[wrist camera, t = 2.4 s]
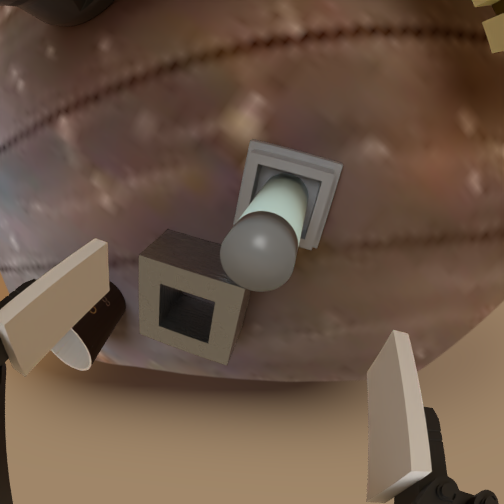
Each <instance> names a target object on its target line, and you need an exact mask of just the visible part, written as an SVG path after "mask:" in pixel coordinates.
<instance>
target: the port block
mask: <svg viewBox="0 0 504 504" xmlns="http://www.w3.org/2000/svg"><path fill="white" fill-rule="evenodd" d="M220 250H221V245H220V244H216V243H213V242H209V241H206V240H203V239H199V238H196V237H192V236H189V235H186V234H182V233H179V232H175V231H172V230H166V231H165V232H164V233H163V234H162V235H161V236H160V237H158V238H157V239H156V240H155V241H154V242H153V243H152V244H150V245H149V246H148V247H147V248H146V249H145V250H144V251H143V252H142V253H140V254H139V326H140V334H142V335H144V336H147V337H149V338H152V339H154V340H157V341H159V342H162V343H165V344H167V345H170V346H173V347H175V348H178V349H181V350H183V351H186V352H189V353H192V354H194V355H197V356H200V357H203V358H206V359H209V360H212V361H215V362H218V363H221V364H224V365H227V364H228V362H229V359H230V357H231V354H232V352H233V349H234V347H235V344H236V342H237V339H238V337H239V334H240V332H241V329H242V325H243V321H244V317H245V313H246V309H247V305H248V301H249V297H250V293H251V290H248V289H245V288H243V287H241V286H239V285H238V284H236V283H235V282H234V281H233V280H232V279H231V278H230V277H229V276H228V275H227V274H226V272H225V270H224V268H223V266H222V263H221V259H220ZM182 291H184V292H187V293H190V294H193V295H196V296H199V297H202V298H205V299H208V300H211V301H214V302H215V305H213V304H209V303H206V302H203V301H200V300H197V299H194V298H191V297H188V296H185V295H182V294H181V293H182Z"/></svg>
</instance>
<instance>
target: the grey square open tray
mask: <svg viewBox="0 0 504 504" xmlns="http://www.w3.org/2000/svg"><path fill="white" fill-rule="evenodd" d="M342 166H343V164H342V163H340V162H337V161H334V160H331V159H327V158H324V157H320V156H317V155H313V154H310V153H306V152H302V151H299V150H295V149H291V148H287V147H284V146H280V145H276V144H272V143H268V142H263V141H259V140H255V139H252V140H250V144H249V149H248V154H247V158H246V163H245V168H244V173H243V178H242V183H241V188H240V193H239V198H238V203H237V208H236V213H235V218H234V223H233V225H235V224H236V222H237V221H238V220H239V218H240V217H241V216H242V214H243V213H244V211H245V210H246V209H247V207H248V206H249V205H250V203H251V202H252V201H253V199H254V198H255V197H256V195H257V194H258V193H259V191H260V190H261V189H262V188H263V186H264V185H265V184H266V182H267V181H268V180H269V179H270V178H271V177H273V176H275V175H277V174H281V173H288V174H292V175H295V176H297V177H298V178H300V179H301V180H302V181H303V182H304V184H305V185H306V187H307V190H308V203H307V208H306V213H305V218H304V223H303V228H302V232H301V237H300V242H299V247H301V248H304V249H308V250H312V247H314V248H317V247H318V244H319V241H320V238H321V235H322V232H323V228H324V225H325V222H326V219H327V216H328V213H329V210H330V206H331V203H332V200H333V197H334V193H335V190H336V187H337V183H338V180H339V177H340V173H341V170H342Z"/></svg>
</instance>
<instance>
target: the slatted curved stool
mask: <svg viewBox="0 0 504 504" xmlns="http://www.w3.org/2000/svg"><path fill="white" fill-rule="evenodd" d="M472 2H473V4H474V6H475V7H481V6H490V5H492V7H493V9H494V11H495V13H496V15H497V16H495V17H493V18H491V19H488V20H486V21H484V22H482V25H483V27H484V30H485V33H486V36H487V39H488V42H489V45H490V49H491V53H496V52H501V51H504V0H472Z"/></svg>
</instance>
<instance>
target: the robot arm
mask: <svg viewBox="0 0 504 504" xmlns="http://www.w3.org/2000/svg"><path fill="white" fill-rule="evenodd" d="M113 1H114V0H0V5H1V6H4V5H6V6H17V7H19V8H21V9H23V10H25V11H26V12H28V13H30V14H31V15H33V16H35V17H36V18H38V19H40V20H42V21H43V22H45V23H48V24H51V25H59V26H74V25H78V24H81V23H84V22H86V21H88V20H90V19H92V18H93V17H95V16H97V15H98V14H99V13H101V12H102V11H103V10H105V9H106V8H107V7H108V6H109V5H110V4H111V3H112V2H113ZM109 291H110V288H109V269H108V243H107V242H105V241H102V240H99V239H96V238H95V239H93V240H92V241H90V242H89V243H87V244H86V245H85V246H83V247H82V248H80V249H79V250H77V251H76V252H75V253H73V254H72V255H70V256H69V257H67V258H66V259H65V260H63V261H62V262H61V263H59V264H58V265H56V266H55V267H54V268H52V269H51V270H50V271H48V272H47V273H46V274H44V275H43V276H42V277H40V278H39V279H38V280H35V279H33V280H30V281H28V282H25V283H23V284H22V285H21V286H19V287H18V288H17V289H16V290H15V291H13V292H12V293H10V294H9V296H7V297H5V298H4V299H3V300H2V301H0V504H13V501H12V495H11V489H10V482H9V474H8V464H7V453H6V438H5V382H6V364H5V361H6V360H7V359H8V358H9V360H10V362H11V364H12V367H13V368H14V369H15V370H17V371H18V372H19V373H20V374H22V375H23V376H24V377H26V376H27V375H28V374H29V372H30V371H31V370H32V369H33V368H34V367H35V366H36V365H37V364H38V362H39V361H40V360H41V359H42V358H43V357H44V356H45V355H46V354H47V353H48V352H49V351H50V350H51V349H52V348H53V347H54V346H55V345H56V344H57V343H58V341H59V340H60V339H61V338H62V337H63V336H64V335H65V334H66V333H67V332H68V331H69V330H70V329H71V328H72V327H73V326H74V325H75V324H76V323H77V322H78V321H79V320H80V319H81V318H82V317H83V316H84V315H85V314H86V313H87V312H88V311H89V310H90V309H91V308H92V307H93V306H94V305H95V304H96V303H97V302H98V301H99V300H100V299H101V298H102V297H103V296H105V295H106V294H107V293H108V292H109ZM367 386H368V424H369V427H368V428H369V445H368V447H369V448H368V483H367V502H381V503H385V502H387V501H389V500H390V499H392V498H393V497H394V504H498V499H497V497H496V496H495V494H494V493H493V492H491V491H489V490H484V491H481V492H479V493H478V494H476V495H472V494H468V493H465V492H462V491H460V490H459V489H458V486H457V484H456V483H455V481H454V480H453V479H451V478H449V477H448V476H447V470H446V462H445V455H444V448H443V442H442V435H441V433H440V431H441V429H440V423H439V419H438V417H437V415H436V413H435V411H434V410H433V408H428V407H423V401H422V395H421V391H420V385H419V380H418V375H417V370H416V365H415V361H414V356H413V352H412V347H411V343H410V339H409V335H408V333H404V332H400V331H396V330H393V331H392V333H391V334H390V336H389V338H388V339H387V341H386V343H385V344H384V346H383V348H382V349H381V351H380V353H379V354H378V356H377V357H376V359H375V361H374V362H373V364H372V365H371V367H370V368H369V370H368V371H367Z"/></svg>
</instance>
